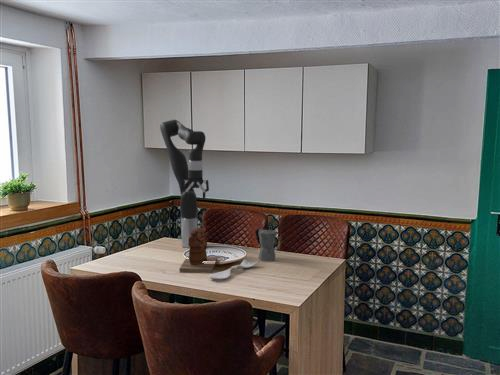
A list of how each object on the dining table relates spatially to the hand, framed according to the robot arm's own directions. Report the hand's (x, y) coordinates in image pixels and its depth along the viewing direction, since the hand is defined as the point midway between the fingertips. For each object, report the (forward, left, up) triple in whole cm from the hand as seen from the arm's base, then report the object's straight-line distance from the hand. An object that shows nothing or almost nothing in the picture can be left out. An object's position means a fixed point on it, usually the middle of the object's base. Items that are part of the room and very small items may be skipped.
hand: (195, 199), depth 260 cm
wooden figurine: (+15, +4, -31) cm, 34 cm away
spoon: (+26, +22, -33) cm, 47 cm away
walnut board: (+15, +4, -32) cm, 36 cm away
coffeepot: (0, +38, -33) cm, 50 cm away
